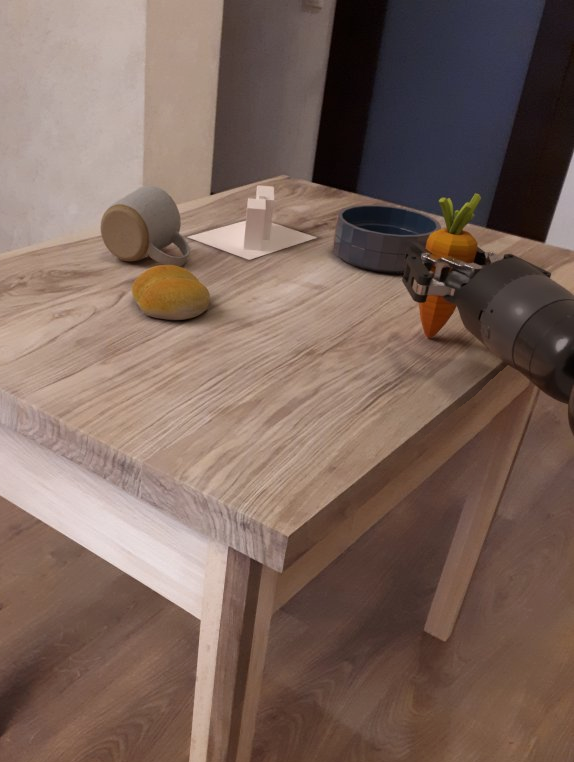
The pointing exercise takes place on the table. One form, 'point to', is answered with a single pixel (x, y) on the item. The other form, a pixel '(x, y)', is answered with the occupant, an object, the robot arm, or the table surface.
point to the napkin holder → (254, 230)
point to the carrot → (444, 245)
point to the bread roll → (170, 293)
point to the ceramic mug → (144, 227)
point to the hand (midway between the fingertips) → (437, 251)
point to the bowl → (380, 236)
